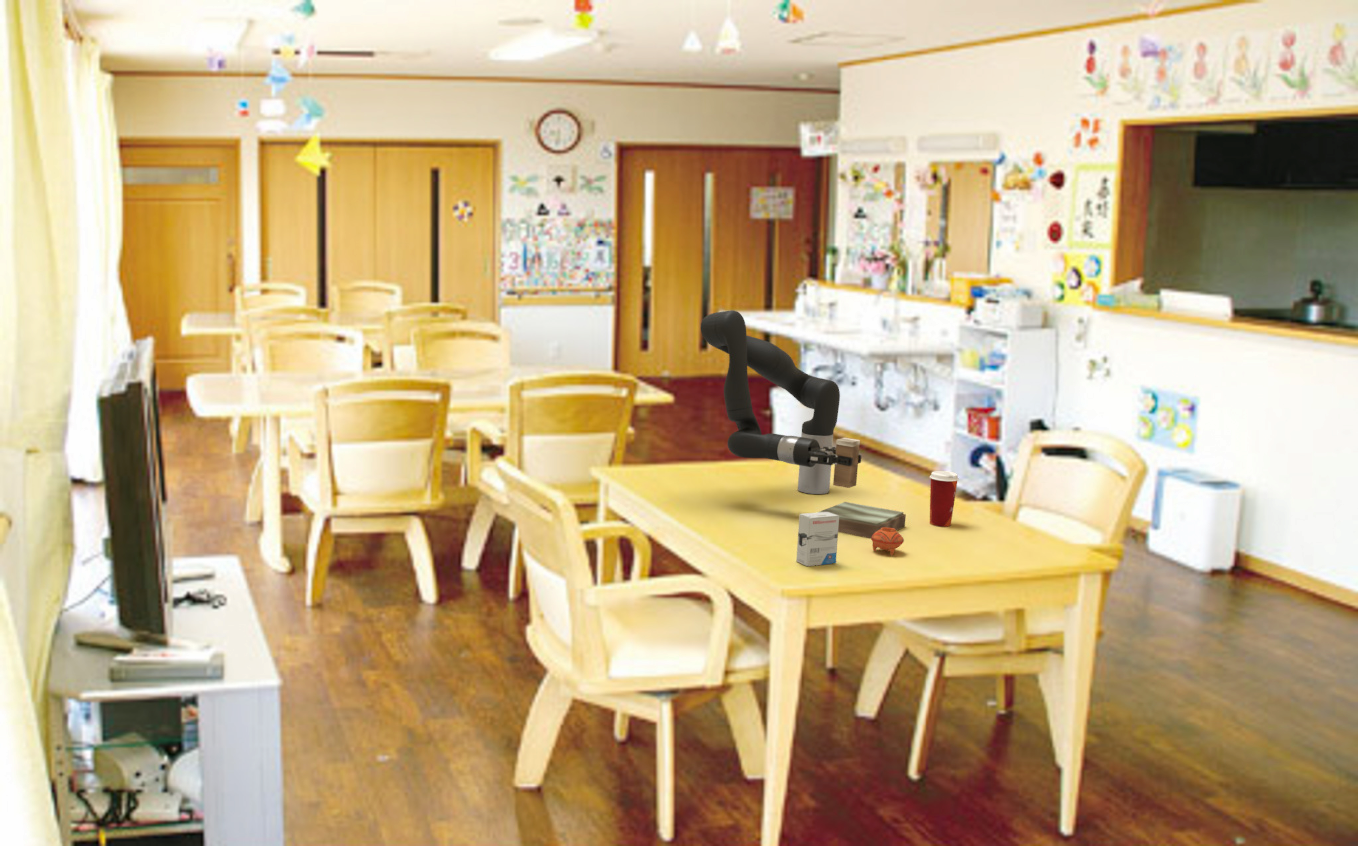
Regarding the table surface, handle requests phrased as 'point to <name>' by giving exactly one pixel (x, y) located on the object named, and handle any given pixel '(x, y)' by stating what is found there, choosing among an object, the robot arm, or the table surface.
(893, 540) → the pot
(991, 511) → the table surface
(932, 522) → the paper cup
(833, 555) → the ink box
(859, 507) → the block
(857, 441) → the block
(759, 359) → the robot arm
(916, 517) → the table surface
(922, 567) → the table surface
